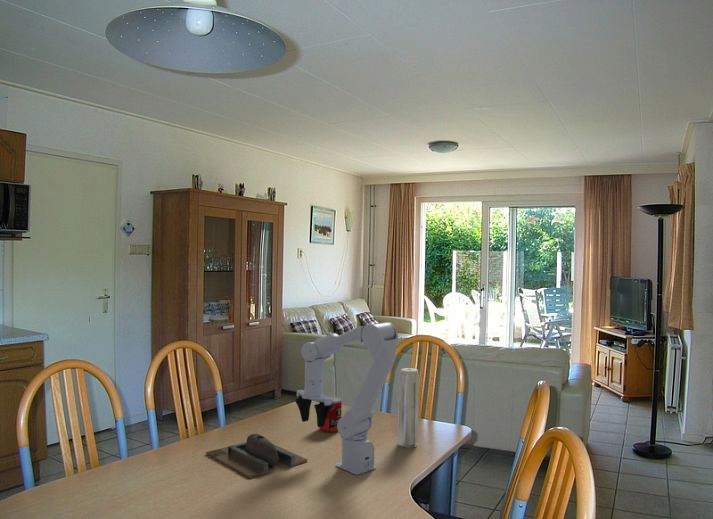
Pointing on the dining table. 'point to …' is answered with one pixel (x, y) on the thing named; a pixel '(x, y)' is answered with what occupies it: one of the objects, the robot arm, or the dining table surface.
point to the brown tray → (251, 459)
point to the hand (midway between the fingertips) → (313, 423)
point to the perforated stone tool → (262, 449)
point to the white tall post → (408, 408)
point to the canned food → (333, 415)
